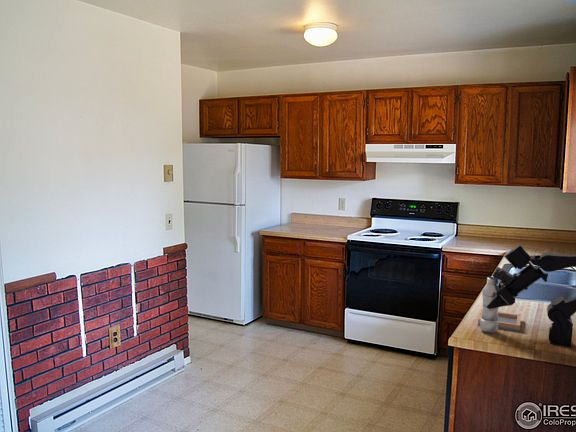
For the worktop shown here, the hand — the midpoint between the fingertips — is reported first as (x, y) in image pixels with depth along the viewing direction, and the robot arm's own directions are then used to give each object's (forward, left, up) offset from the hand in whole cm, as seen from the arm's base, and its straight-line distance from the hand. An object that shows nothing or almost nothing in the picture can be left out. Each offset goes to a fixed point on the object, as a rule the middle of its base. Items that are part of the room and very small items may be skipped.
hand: (488, 304), depth 179 cm
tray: (-4, -13, -10) cm, 17 cm away
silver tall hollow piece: (-1, 0, -10) cm, 10 cm away
